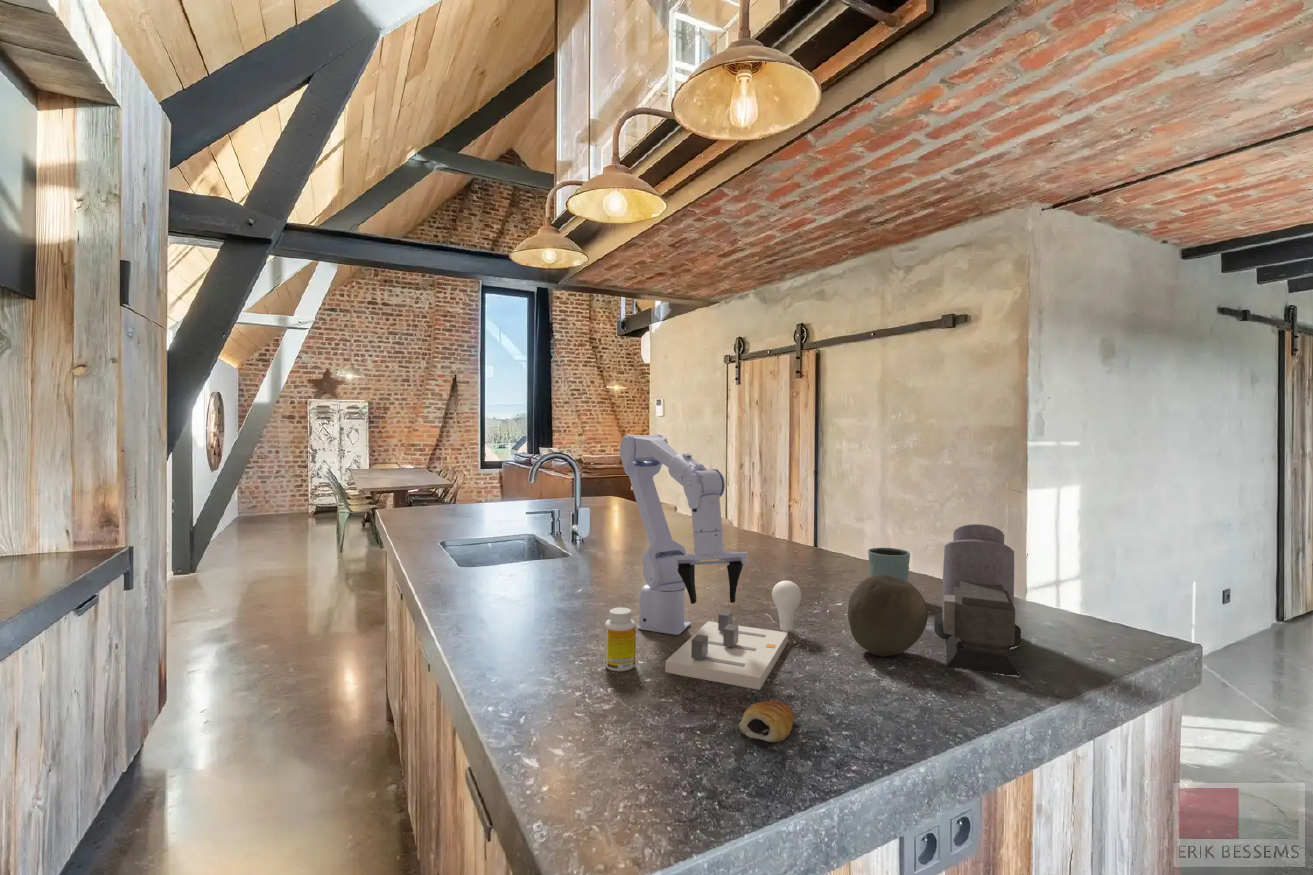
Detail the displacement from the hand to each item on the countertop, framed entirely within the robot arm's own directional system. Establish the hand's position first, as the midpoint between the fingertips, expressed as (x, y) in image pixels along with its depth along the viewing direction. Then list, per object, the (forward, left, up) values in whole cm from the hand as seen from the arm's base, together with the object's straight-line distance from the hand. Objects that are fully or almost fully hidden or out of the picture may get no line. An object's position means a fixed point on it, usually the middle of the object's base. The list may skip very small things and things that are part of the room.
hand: (713, 602), depth 115 cm
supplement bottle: (-13, -13, -10) cm, 21 cm away
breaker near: (0, -8, -7) cm, 11 cm away
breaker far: (0, +8, -7) cm, 11 cm away
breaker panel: (+4, 0, -10) cm, 10 cm away
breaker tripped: (+4, 0, -7) cm, 8 cm away
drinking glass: (+30, +56, -10) cm, 64 cm away
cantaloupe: (+31, +14, -10) cm, 35 cm away
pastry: (+16, -24, -10) cm, 31 cm away
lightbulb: (+11, +18, -10) cm, 23 cm away
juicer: (+48, +26, -10) cm, 55 cm away
